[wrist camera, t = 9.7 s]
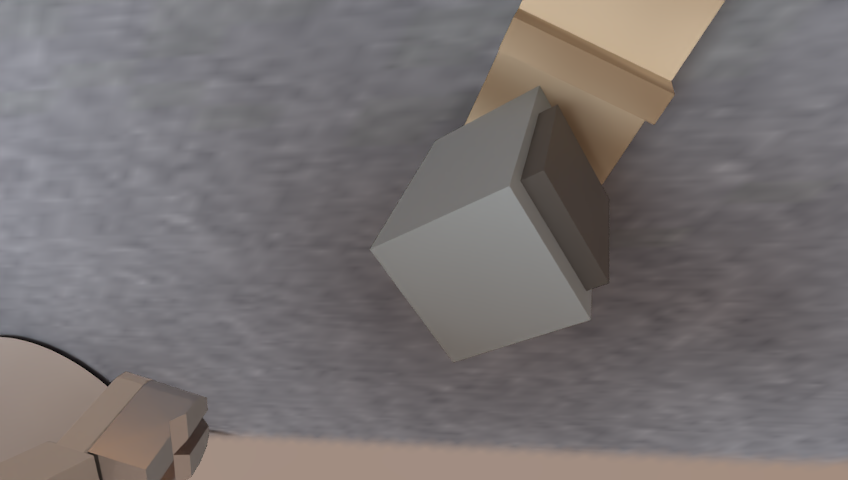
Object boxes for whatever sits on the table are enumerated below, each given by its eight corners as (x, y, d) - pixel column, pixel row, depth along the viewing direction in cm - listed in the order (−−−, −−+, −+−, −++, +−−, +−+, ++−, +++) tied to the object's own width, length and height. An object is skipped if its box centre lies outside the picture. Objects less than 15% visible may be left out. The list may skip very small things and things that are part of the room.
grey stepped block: (493, 231, 22) (452, 362, 16) (435, 140, 21) (369, 249, 15) (613, 180, 20) (614, 312, 14) (557, 76, 19) (534, 174, 13)
